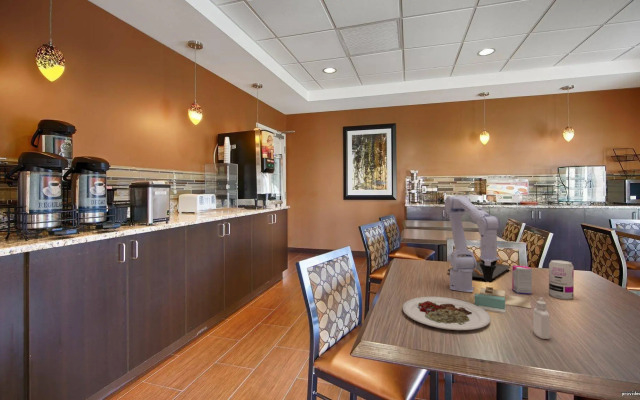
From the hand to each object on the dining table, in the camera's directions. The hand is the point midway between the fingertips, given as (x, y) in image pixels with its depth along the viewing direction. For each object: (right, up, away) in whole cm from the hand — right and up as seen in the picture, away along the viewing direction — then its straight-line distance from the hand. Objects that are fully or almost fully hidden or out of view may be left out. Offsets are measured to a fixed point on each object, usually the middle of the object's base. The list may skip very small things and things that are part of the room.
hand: (488, 279), depth 120 cm
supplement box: (+23, -10, +14) cm, 28 cm away
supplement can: (+35, -10, +7) cm, 37 cm away
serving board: (+22, -9, +48) cm, 53 cm away
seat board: (+9, -10, +5) cm, 14 cm away
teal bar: (-1, -10, -3) cm, 10 cm away
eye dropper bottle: (+2, -11, -26) cm, 28 cm away
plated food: (-22, -11, -9) cm, 26 cm away
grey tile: (0, -10, -3) cm, 11 cm away
